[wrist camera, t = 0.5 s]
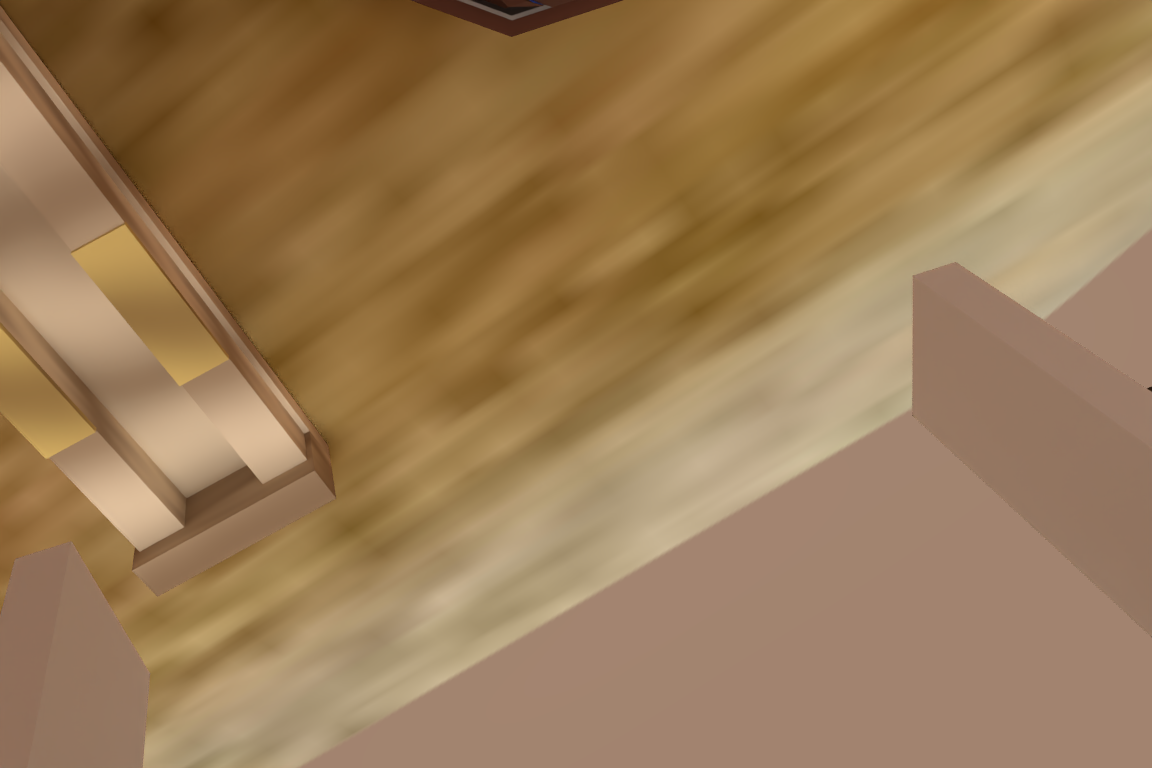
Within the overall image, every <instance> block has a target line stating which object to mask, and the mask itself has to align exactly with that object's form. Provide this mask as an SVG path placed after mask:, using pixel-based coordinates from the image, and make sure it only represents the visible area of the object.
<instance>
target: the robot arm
mask: <svg viewBox="0 0 1152 768" xmlns="http://www.w3.org/2000/svg"><path fill="white" fill-rule="evenodd" d="M912 411H913V412H912V416H913V417H914V418H915V419H916V420H918V421H919V422H920V423H921V424H922V425H923V426H924V427H925V428H926V429H927V430H928V431H929V432H931V433H932V434H933V435H934V436H935V437H936V438H937V439H938V440H939V441H940V442H941V443H942V444H944V445H945V446H946V447H947V448H948V449H949V450H950V451H951V452H952V453H953V454H954V455H955V456H956V457H958V458H959V459H960V460H961V461H962V462H963V463H964V464H965V465H966V466H967V467H968V468H969V469H970V470H972V471H973V472H974V473H975V474H976V475H977V476H978V477H979V478H980V479H981V480H982V481H983V482H985V483H986V484H987V485H988V486H989V487H990V488H991V489H992V490H993V491H994V492H995V493H996V494H997V495H999V496H1000V497H1001V498H1002V499H1003V500H1004V501H1005V502H1006V503H1007V504H1008V505H1009V506H1010V507H1011V508H1013V509H1014V510H1015V511H1016V512H1017V513H1018V514H1019V515H1020V516H1021V517H1022V518H1023V519H1024V520H1026V521H1027V522H1028V523H1029V524H1030V525H1031V526H1032V527H1033V528H1034V529H1035V530H1036V531H1037V532H1038V533H1040V534H1041V535H1042V536H1043V537H1044V538H1045V539H1046V540H1047V541H1048V542H1049V543H1050V544H1052V545H1053V546H1054V547H1055V548H1056V549H1057V550H1058V551H1059V552H1060V553H1061V554H1062V555H1063V556H1064V557H1065V558H1067V559H1068V560H1069V561H1070V562H1071V563H1072V564H1073V565H1074V566H1075V567H1076V568H1077V569H1079V570H1080V571H1081V572H1082V573H1083V574H1084V575H1085V576H1086V577H1087V578H1088V579H1089V580H1090V581H1091V582H1092V583H1094V584H1095V585H1096V586H1097V587H1098V588H1099V589H1100V590H1101V591H1102V592H1104V594H1106V595H1107V596H1108V597H1109V598H1110V599H1111V600H1112V601H1113V602H1114V603H1115V604H1116V605H1118V607H1119V608H1121V609H1122V610H1123V611H1124V612H1125V613H1126V614H1127V615H1128V616H1129V617H1130V618H1131V619H1132V620H1134V621H1135V622H1136V623H1137V624H1138V625H1139V626H1140V627H1141V628H1142V629H1143V630H1144V631H1145V632H1147V633H1148V634H1149V635H1150V636H1151V637H1152V387H1149V388H1145V387H1144V386H1142V385H1141V384H1139V383H1137V382H1136V381H1135V380H1133V379H1131V378H1130V377H1128V376H1127V375H1125V374H1124V373H1122V372H1121V371H1119V370H1118V369H1116V368H1115V367H1113V366H1112V365H1110V364H1109V363H1107V362H1106V361H1104V360H1103V359H1101V358H1100V357H1098V356H1097V355H1095V354H1093V353H1092V352H1091V351H1089V350H1088V349H1086V348H1085V347H1083V346H1082V345H1080V344H1079V343H1077V342H1075V341H1074V340H1073V339H1071V338H1070V337H1068V336H1066V335H1065V334H1064V333H1062V332H1060V331H1059V330H1058V329H1056V328H1054V327H1053V326H1052V325H1050V324H1048V323H1047V322H1045V321H1044V320H1042V319H1041V318H1039V317H1038V316H1036V315H1035V314H1033V313H1032V312H1030V311H1029V310H1027V309H1026V308H1024V307H1023V306H1021V305H1020V304H1018V303H1017V302H1015V301H1014V300H1012V299H1011V298H1009V297H1008V296H1006V295H1005V294H1003V293H1002V292H1000V291H999V290H997V289H996V288H994V287H993V286H991V285H990V284H988V283H987V282H985V281H984V280H982V279H981V278H979V277H978V276H976V275H975V274H973V273H971V272H970V271H968V270H967V269H965V268H964V267H962V266H961V265H959V264H958V263H956V262H955V263H951V264H948V265H945V266H942V267H939V268H936V269H932V270H929V271H926V272H923V273H920V274H917V275H913V392H912ZM149 679H150V673H149V671H148V670H147V668H146V666H145V665H144V663H143V661H142V659H141V658H140V656H139V654H138V653H137V651H136V649H135V648H134V646H133V644H132V643H131V641H130V639H129V638H128V636H127V634H126V632H125V631H124V629H123V627H122V626H121V624H120V622H119V621H118V619H117V617H116V616H115V614H114V612H113V611H112V609H111V607H110V606H109V604H108V602H107V600H106V599H105V597H104V595H103V594H102V592H101V590H100V589H99V587H98V585H97V584H96V582H95V580H94V579H93V577H92V575H91V573H90V572H89V570H88V568H87V567H86V565H85V563H84V562H83V560H82V558H81V557H80V555H79V553H78V552H77V550H76V548H75V547H74V545H73V543H72V541H71V542H68V543H64V544H61V545H58V546H55V547H52V548H49V549H45V550H42V551H39V552H36V553H33V554H30V555H26V556H23V557H20V558H17V559H15V562H14V566H13V569H12V573H11V577H10V581H9V585H8V589H7V592H6V596H5V600H4V604H3V608H2V611H1V615H0V768H143V755H144V743H145V730H146V717H147V704H148V692H149Z"/></svg>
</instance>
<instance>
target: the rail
mask: <svg viewBox="0 0 1152 768" xmlns="http://www.w3.org/2000/svg"><path fill="white" fill-rule="evenodd" d="M0 412H1V413H2V414H3V415H4V416H5V417H6V418H7V419H8V421H9V422H10V423H11V424H12V425H13V426H14V427H15V428H16V429H17V430H18V431H19V432H20V433H21V434H22V435H23V436H24V437H25V438H26V439H27V440H28V441H29V442H30V443H31V444H32V445H33V446H34V447H35V448H36V449H37V450H38V451H39V453H40V454H41V455H42V456H43V457H44V458H45V459H47V458H50V459H51V460H52V461H53V462H54V464H55V465H56V466H57V467H58V468H59V469H60V470H61V471H62V472H63V473H64V474H65V475H66V476H67V477H68V478H69V479H70V480H71V481H72V482H73V483H74V484H75V485H76V486H77V487H78V488H79V489H80V490H81V492H82V493H83V494H84V495H85V496H86V497H87V498H88V499H89V500H90V501H91V502H92V503H93V504H94V505H95V506H96V507H97V508H98V509H99V510H100V511H101V512H102V513H103V514H104V515H105V516H106V517H107V518H108V519H109V521H110V522H111V523H112V524H113V525H114V526H115V527H116V528H117V529H118V530H119V531H120V532H121V533H122V534H123V535H124V536H125V537H126V538H127V539H128V540H129V541H130V542H131V543H132V544H133V545H134V546H135V551H134V559H133V567H132V571H133V572H134V573H135V574H136V575H137V576H138V577H139V578H140V579H141V580H142V581H143V582H144V583H145V584H146V585H147V586H148V587H149V588H150V589H151V590H152V591H153V592H154V593H155V595H156V596H157V597H158V596H160V595H161V594H163V593H165V592H167V591H169V590H170V589H172V588H174V587H176V586H178V585H180V584H181V583H183V582H185V581H187V580H189V579H190V578H192V577H194V576H196V575H198V574H200V573H201V572H203V571H205V570H207V569H209V568H210V567H212V566H214V565H216V564H218V563H220V562H221V561H223V560H225V559H227V558H229V557H231V556H232V555H234V554H236V553H238V552H240V551H241V550H243V549H245V548H247V547H249V546H251V545H252V544H254V543H256V542H258V541H260V540H261V539H263V538H265V537H267V536H269V535H271V534H272V533H274V532H276V531H278V530H280V529H281V528H283V527H285V526H287V525H289V524H291V523H292V522H294V521H296V520H298V519H300V518H301V517H303V516H305V515H307V514H309V513H311V512H312V511H314V510H316V509H318V508H320V507H322V506H323V505H325V504H327V503H329V502H331V501H332V500H334V499H336V494H335V488H334V481H333V475H332V468H331V461H330V455H329V448H328V445H327V443H326V442H325V441H324V439H323V438H322V437H321V435H320V434H319V433H318V431H317V430H316V429H315V427H314V426H313V425H312V423H311V422H310V421H309V419H308V418H307V417H306V415H305V414H304V412H303V411H302V410H301V408H300V407H299V406H298V404H297V403H296V402H295V400H294V399H293V398H292V396H291V395H290V394H289V392H288V391H287V390H286V388H285V387H284V386H283V384H282V383H281V382H280V380H279V379H278V378H277V376H276V375H275V374H274V372H273V371H272V370H271V368H270V367H269V366H268V364H267V363H266V362H265V360H264V359H263V357H262V356H261V355H260V353H259V352H258V351H257V349H256V348H255V347H254V345H253V344H252V343H251V341H250V340H249V339H248V337H247V336H246V335H245V333H244V332H243V331H242V329H241V328H240V327H239V325H238V324H237V323H236V321H235V320H234V319H233V317H232V316H231V315H230V313H229V312H228V311H227V309H226V308H225V307H224V305H223V304H222V302H221V301H220V300H219V298H218V297H217V296H216V294H215V293H214V292H213V290H212V289H211V288H210V286H209V285H208V284H207V282H206V281H205V280H204V278H203V277H202V276H201V274H200V273H199V272H198V270H197V269H196V268H195V266H194V265H193V264H192V262H191V261H190V260H189V258H188V257H187V256H186V254H185V253H184V252H183V250H182V249H181V247H180V246H179V245H178V243H177V242H176V241H175V239H174V238H173V237H172V235H171V234H170V233H169V231H168V230H167V229H166V227H165V226H164V225H163V223H162V222H161V221H160V219H159V218H158V217H157V215H156V214H155V213H154V211H153V210H152V209H151V207H150V206H149V205H148V203H147V202H146V201H145V199H144V198H143V196H142V195H141V194H140V192H139V191H138V190H137V188H136V187H135V186H134V184H133V183H132V182H131V180H130V179H129V178H128V176H127V175H126V174H125V172H124V171H123V170H122V168H121V167H120V166H119V164H118V163H117V162H116V160H115V159H114V158H113V156H112V155H111V154H110V152H109V151H108V150H107V148H106V147H105V146H104V144H103V143H102V141H101V140H100V139H99V137H98V136H97V135H96V133H95V132H94V131H93V129H92V128H91V127H90V125H89V124H88V123H87V121H86V120H85V119H84V117H83V116H82V115H81V113H80V112H79V111H78V109H77V108H76V107H75V105H74V104H73V103H72V101H71V100H70V99H69V97H68V96H67V95H66V93H65V92H64V91H63V89H62V88H61V86H60V85H59V84H58V82H57V81H56V80H55V78H54V77H53V76H52V74H51V73H50V72H49V70H48V69H47V68H46V66H45V65H44V64H43V62H42V61H41V60H40V58H39V57H38V56H37V54H36V53H35V52H34V50H33V49H32V48H31V46H30V45H29V44H28V42H27V41H26V40H25V38H24V37H23V36H22V34H21V33H20V31H19V30H18V29H17V27H16V26H15V25H14V23H13V22H12V21H11V19H10V18H9V17H8V15H7V14H6V13H5V11H4V10H3V9H2V7H1V6H0Z"/></svg>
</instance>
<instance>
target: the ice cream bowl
mask: <svg viewBox="0 0 1152 768" xmlns="http://www.w3.org/2000/svg"><path fill="white" fill-rule="evenodd" d="M412 1H414V2H417V3H420V4H423V5H425V6H428V7H431V8H434V9H436V10H439V11H442V12H445V13H447V14H450V15H453V16H456V17H458V18H461V19H464V20H467V21H469V22H472V23H475V24H478V25H480V26H483V27H486V28H489V29H491V30H494V31H497V32H500V33H502V34H505V35H508V36H511V37H512V36H515V35H519V34H522V33H525V32H528V31H531V30H534V29H537V28H540V27H543V26H546V25H549V24H552V23H555V22H558V21H561V20H564V19H567V18H570V17H573V16H576V15H580V14H583V13H586V12H589V11H592V10H595V9H598V8H601V7H604V6H607V5H610V4H613V3H616V2H619V1H622V0H412Z"/></svg>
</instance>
